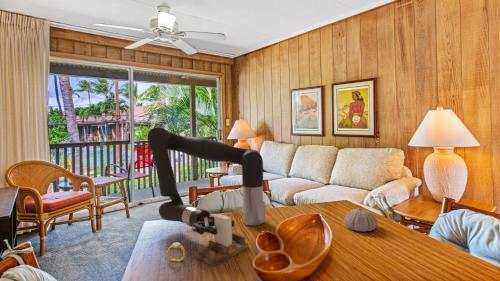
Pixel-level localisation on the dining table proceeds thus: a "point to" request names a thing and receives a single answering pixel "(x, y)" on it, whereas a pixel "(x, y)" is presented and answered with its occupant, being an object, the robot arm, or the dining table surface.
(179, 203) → the robot arm
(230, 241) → the panel
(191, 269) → the dining table surface
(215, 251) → the rack
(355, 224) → the sea urchin shell
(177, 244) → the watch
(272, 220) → the dining table surface
